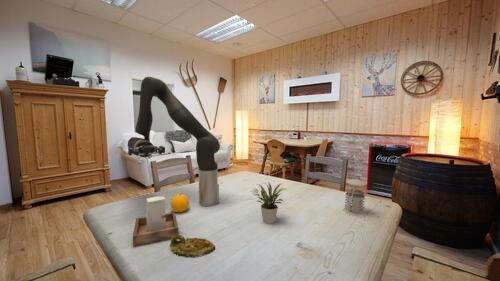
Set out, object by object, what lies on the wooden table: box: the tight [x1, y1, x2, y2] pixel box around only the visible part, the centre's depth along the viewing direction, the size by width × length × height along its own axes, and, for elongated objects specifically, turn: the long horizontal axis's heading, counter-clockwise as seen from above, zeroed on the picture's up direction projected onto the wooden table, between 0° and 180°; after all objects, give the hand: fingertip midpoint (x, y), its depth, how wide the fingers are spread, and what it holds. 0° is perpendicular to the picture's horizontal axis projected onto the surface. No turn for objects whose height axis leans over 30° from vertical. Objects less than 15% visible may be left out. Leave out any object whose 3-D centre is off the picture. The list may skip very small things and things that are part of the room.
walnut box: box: [132, 211, 179, 248], centre depth 77 cm, size 14×14×4 cm
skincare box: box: [145, 195, 167, 232], centre depth 77 cm, size 6×4×12 cm
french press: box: [342, 158, 367, 218], centre depth 95 cm, size 10×12×25 cm
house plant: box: [255, 181, 286, 225], centre depth 87 cm, size 14×14×16 cm
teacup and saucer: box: [250, 187, 262, 198], centre depth 117 cm, size 9×8×4 cm
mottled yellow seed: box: [169, 234, 216, 258], centre depth 68 cm, size 9×5×15 cm
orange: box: [170, 193, 190, 213], centre depth 96 cm, size 8×8×8 cm
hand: (149, 152), depth 85 cm, fingers open, 8 cm apart
